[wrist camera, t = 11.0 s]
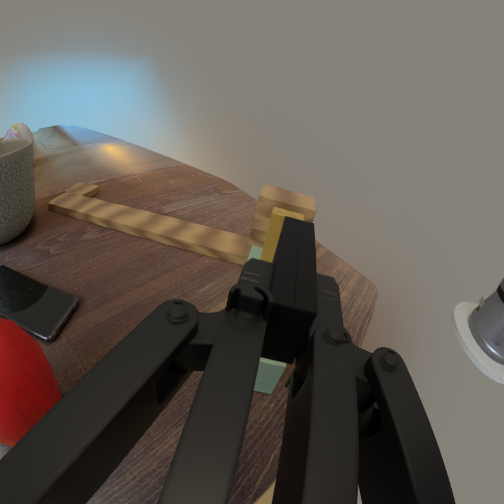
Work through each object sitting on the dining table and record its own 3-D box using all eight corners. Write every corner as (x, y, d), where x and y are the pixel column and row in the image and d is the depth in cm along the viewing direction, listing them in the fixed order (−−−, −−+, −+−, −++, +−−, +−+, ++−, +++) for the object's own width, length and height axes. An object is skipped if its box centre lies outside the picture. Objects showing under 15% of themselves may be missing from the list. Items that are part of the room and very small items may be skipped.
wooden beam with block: (296, 241, 51) (314, 181, 45) (293, 287, 39) (319, 211, 33) (80, 188, 53) (80, 137, 47) (38, 213, 42) (33, 154, 35)
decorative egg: (-4, 174, 53) (-7, 127, 45) (22, 162, 64) (21, 119, 56) (14, 178, 53) (12, 126, 45) (42, 164, 63) (42, 117, 56)
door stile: (286, 285, 40) (296, 256, 37) (271, 394, 24) (286, 367, 22) (245, 274, 40) (252, 245, 37) (210, 379, 24) (215, 349, 22)
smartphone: (48, 341, 21) (-29, 293, 21) (51, 347, 22) (-26, 299, 21) (80, 296, 28) (1, 262, 27) (82, 303, 28) (3, 269, 27)
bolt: (287, 239, 40) (304, 182, 35) (280, 294, 29) (304, 221, 25) (267, 234, 40) (281, 177, 35) (252, 287, 29) (271, 212, 25)
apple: (12, 372, 17) (-40, 279, 11) (86, 387, 20) (45, 292, 14) (-4, 452, 10) (-89, 377, 4) (81, 478, 12) (3, 427, 6)
